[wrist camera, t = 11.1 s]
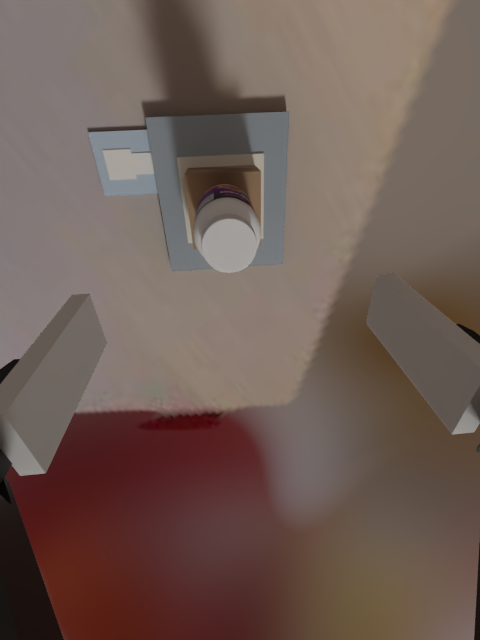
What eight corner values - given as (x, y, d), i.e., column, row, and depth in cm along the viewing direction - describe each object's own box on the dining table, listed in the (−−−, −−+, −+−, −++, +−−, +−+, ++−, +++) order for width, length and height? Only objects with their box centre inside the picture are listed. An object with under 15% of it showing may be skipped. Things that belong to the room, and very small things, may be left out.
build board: (172, 267, 39) (171, 271, 38) (147, 117, 30) (144, 117, 29) (280, 260, 39) (282, 264, 38) (286, 111, 31) (289, 111, 29)
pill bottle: (263, 207, 29) (283, 239, 21) (230, 250, 31) (236, 294, 23) (217, 169, 27) (220, 189, 19) (185, 218, 29) (175, 255, 21)
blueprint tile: (105, 195, 33) (104, 196, 33) (88, 132, 30) (87, 132, 30) (178, 191, 34) (177, 192, 34) (169, 128, 31) (168, 128, 30)
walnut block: (195, 234, 35) (193, 249, 31) (187, 167, 31) (184, 175, 27) (254, 230, 36) (260, 245, 31) (254, 164, 32) (260, 171, 28)
